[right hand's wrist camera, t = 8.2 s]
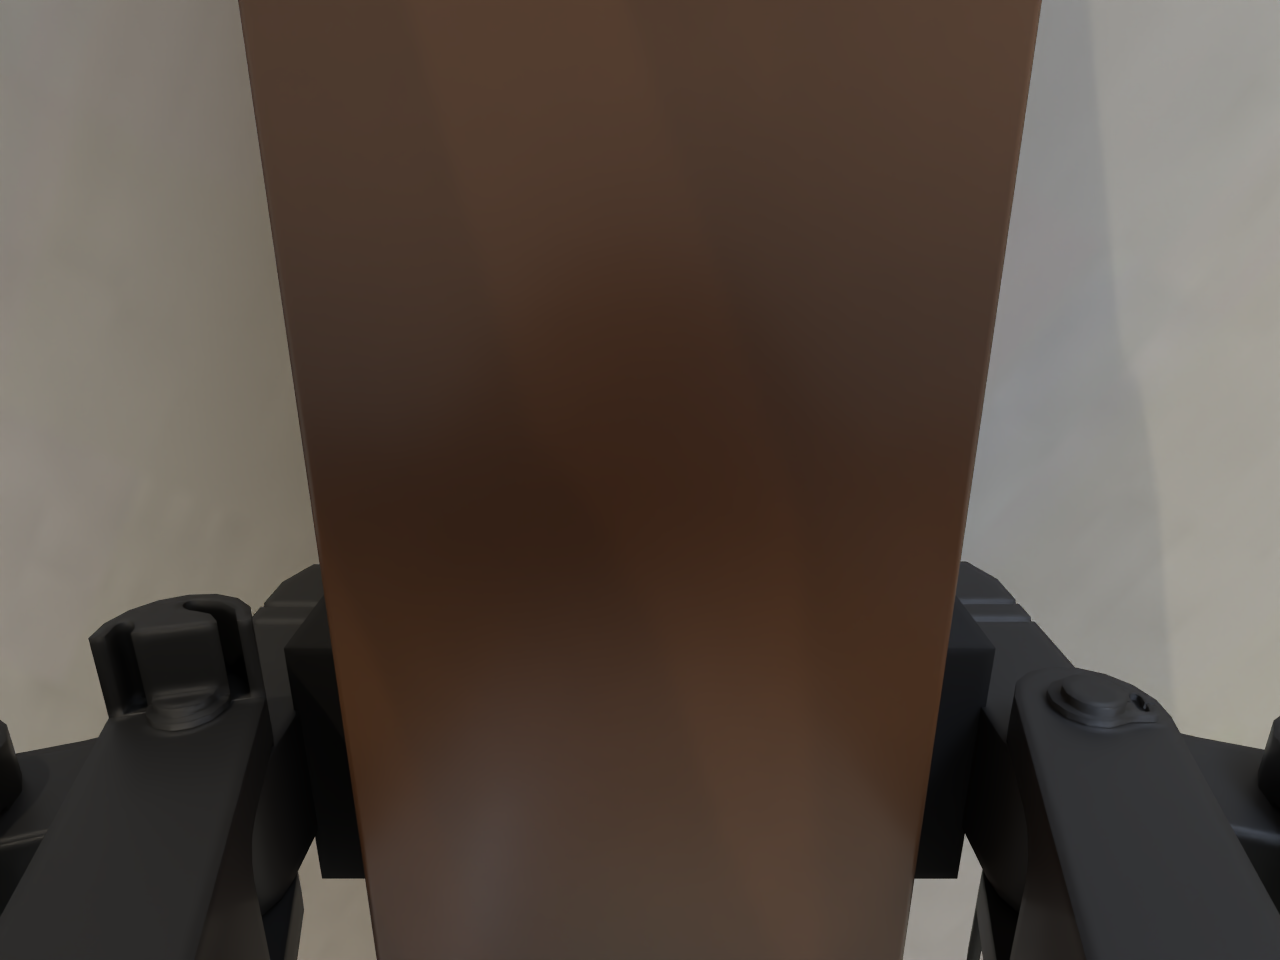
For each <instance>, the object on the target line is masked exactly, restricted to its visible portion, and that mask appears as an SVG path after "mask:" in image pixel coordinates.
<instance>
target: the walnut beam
mask: <svg viewBox="0 0 1280 960" xmlns="http://www.w3.org/2000/svg"><path fill="white" fill-rule="evenodd" d="M238 2H239V9H240V15H241V22H242V29H243V36H244V43H245V50H246V57H247V64H248V71H249V78H250V85H251V92H252V99H253V105H254V112H255V119H256V126H257V133H258V140H259V147H260V154H261V161H262V168H263V175H264V182H265V189H266V195H267V202H268V209H269V216H270V223H271V230H272V237H273V244H274V251H275V258H276V265H277V272H278V278H279V285H280V292H281V299H282V306H283V313H284V320H285V327H286V334H287V341H288V348H289V355H290V362H291V368H292V375H293V382H294V389H295V396H296V403H297V410H298V417H299V424H300V431H301V438H302V445H303V451H304V458H305V465H306V472H307V479H308V486H309V493H310V500H311V507H312V514H313V521H314V528H315V535H316V541H317V548H318V555H319V562H320V569H321V576H322V583H323V590H324V597H325V604H326V611H327V618H328V625H329V631H330V638H331V645H332V652H333V659H334V666H335V673H336V680H337V687H338V694H339V701H340V708H341V714H342V721H343V728H344V735H345V742H346V749H347V756H348V763H349V770H350V777H351V784H352V791H353V798H354V804H355V811H356V818H357V825H358V832H359V839H360V846H361V853H362V860H363V867H364V874H365V881H366V887H367V894H368V901H369V908H370V915H371V922H372V929H373V936H374V943H375V950H376V957H377V960H903V953H904V946H905V939H906V932H907V926H908V919H909V912H910V905H911V898H912V891H913V884H914V877H915V870H916V863H917V857H918V850H919V843H920V836H921V829H922V822H923V815H924V808H925V801H926V795H927V788H928V781H929V774H930V767H931V760H932V753H933V746H934V739H935V733H936V726H937V719H938V712H939V705H940V698H941V691H942V684H943V677H944V671H945V664H946V657H947V650H948V643H949V636H950V629H951V622H952V615H953V608H954V602H955V595H956V588H957V581H958V574H959V567H960V560H961V553H962V546H963V540H964V533H965V526H966V519H967V512H968V505H969V498H970V491H971V484H972V478H973V471H974V464H975V457H976V450H977V443H978V436H979V429H980V422H981V416H982V409H983V402H984V395H985V388H986V381H987V374H988V367H989V360H990V353H991V347H992V340H993V333H994V326H995V319H996V312H997V305H998V298H999V291H1000V285H1001V278H1002V271H1003V264H1004V257H1005V250H1006V243H1007V236H1008V229H1009V223H1010V216H1011V209H1012V202H1013V195H1014V188H1015V181H1016V174H1017V167H1018V161H1019V154H1020V147H1021V140H1022V133H1023V126H1024V119H1025V112H1026V105H1027V98H1028V92H1029V85H1030V78H1031V71H1032V64H1033V57H1034V50H1035V43H1036V36H1037V30H1038V23H1039V16H1040V9H1041V2H1042V0H238Z"/></svg>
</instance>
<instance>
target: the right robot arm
mask: <svg viewBox="0 0 1280 960" xmlns="http://www.w3.org/2000/svg"><path fill="white" fill-rule="evenodd" d="M89 642H90V646H91V650H92V654H93V658H94V662H95V665H96V669H97V673H98V677H99V681H100V685H101V689H102V693H103V696H104V700H105V704H106V708H107V712H108V716H109V719H108V721H107V723H106V724H105V726H104V728H103V730H102V732H101V734H100V735H99V737H98V738H94V739H90V740H86V741H81V742H76V743H70V744H65V745H60V746H54V747H49V748H44V749H38V750H33V751H28V752H23V753H17V754H16V753H15V750H14V747H13V744H12V740H11V737H10V734H9V731H8V727H7V725H6V724H5V723H4V722H2V721H1V720H0V960H297V956H298V949H299V942H300V934H301V927H302V920H303V913H304V907H303V899H302V892H301V886H300V881H299V875H298V870H299V868H300V866H301V864H302V862H303V860H304V858H305V856H306V853H307V851H308V849H309V847H310V845H311V843H312V841H313V839H314V837H315V838H316V844H317V850H318V856H319V862H320V868H321V874H322V878H365V874H364V867H363V860H362V853H361V846H360V839H359V832H358V825H357V818H356V811H355V804H354V798H353V791H352V784H351V777H350V770H349V763H348V756H347V749H346V742H345V735H344V728H343V721H342V714H341V708H340V701H339V694H338V687H337V680H336V673H335V666H334V659H333V652H332V645H331V638H330V631H329V625H328V618H327V611H326V604H325V597H324V590H323V583H322V576H321V569H320V564H313V565H312V566H310V567H308V568H306V569H305V570H303V571H301V572H299V573H298V574H296V575H294V576H292V577H291V578H289V579H287V580H285V581H284V582H282V583H281V584H280V586H279V587H278V588H277V589H276V590H275V591H274V592H273V594H272V595H271V596H270V597H269V598H268V599H267V600H266V602H265V603H264V607H260V609H259V610H258V611H257V612H256V613H255V614H254V615H253V617H252V614H251V608H250V606H248V605H247V604H245V603H244V602H243V601H241V600H240V599H238V598H234V597H229V596H224V595H219V594H200V595H185V596H180V597H174V598H169V599H164V600H158V601H155V602H152V603H149V604H146V605H143V606H141V607H138V608H135V609H132V610H129V611H127V612H125V613H123V614H121V615H119V616H118V617H116V618H114V619H112V620H110V621H108V622H106V623H104V624H103V625H102V626H101V627H100V628H99V629H98V630H97V631H96V632H95V633H94V634H93V635H92V636H90V637H89ZM965 834H966V836H967V838H968V840H969V842H970V844H971V846H972V848H973V850H974V852H975V854H976V856H977V858H978V861H979V863H980V865H981V867H982V875H981V881H980V886H979V892H978V897H977V903H976V908H975V914H974V919H973V925H972V931H971V936H970V942H969V947H968V954H967V960H980V954H981V951H982V954H983V960H1280V716H1279V717H1278V718H1277V719H1275V720H1274V722H1273V725H1272V728H1271V731H1270V735H1269V738H1268V741H1267V744H1266V747H1265V750H1263V749H1257V748H1252V747H1247V746H1241V745H1236V744H1231V743H1225V742H1220V741H1215V740H1209V739H1204V738H1199V737H1194V736H1190V735H1186V734H1181V733H1180V732H1179V730H1178V728H1177V727H1176V725H1175V723H1174V721H1173V719H1172V717H1171V716H1170V715H1169V714H1168V713H1167V712H1166V710H1165V709H1164V708H1163V707H1162V706H1161V705H1160V704H1159V702H1158V701H1157V700H1155V699H1154V698H1152V697H1151V696H1149V695H1148V694H1146V693H1144V692H1143V691H1141V690H1140V689H1138V688H1137V687H1135V686H1133V685H1131V684H1129V683H1126V682H1124V681H1121V680H1119V679H1116V678H1114V677H1111V676H1109V675H1106V674H1102V673H1098V672H1093V671H1089V670H1084V669H1079V668H1075V667H1074V666H1073V665H1072V664H1071V662H1070V661H1069V660H1068V659H1067V658H1066V657H1065V656H1064V655H1063V653H1062V652H1061V651H1060V650H1059V649H1058V648H1057V647H1056V645H1055V644H1054V643H1053V642H1052V641H1051V640H1050V639H1049V637H1048V636H1047V635H1046V634H1045V633H1044V632H1043V631H1042V629H1041V628H1040V627H1039V626H1038V625H1037V624H1036V623H1035V622H1031V617H1030V616H1029V615H1028V614H1027V612H1026V611H1025V610H1024V609H1023V608H1022V607H1021V606H1020V604H1016V603H1015V599H1014V598H1013V597H1012V595H1011V594H1010V593H1009V592H1008V591H1007V590H1006V589H1005V587H1004V586H1003V585H1002V584H1001V583H1000V582H999V581H998V579H996V578H994V577H992V576H991V575H989V574H987V573H985V572H984V571H982V570H980V569H978V568H977V567H975V566H973V565H971V564H970V563H968V562H960V567H959V574H958V581H957V588H956V595H955V602H954V608H953V615H952V622H951V629H950V636H949V643H948V650H947V657H946V664H945V671H944V677H943V684H942V691H941V698H940V705H939V712H938V719H937V726H936V733H935V739H934V746H933V753H932V760H931V767H930V774H929V781H928V788H927V795H926V801H925V808H924V815H923V822H922V829H921V836H920V843H919V850H918V857H917V863H916V870H915V877H914V879H957V877H958V871H959V865H960V859H961V853H962V847H963V841H964V835H965Z"/></svg>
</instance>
